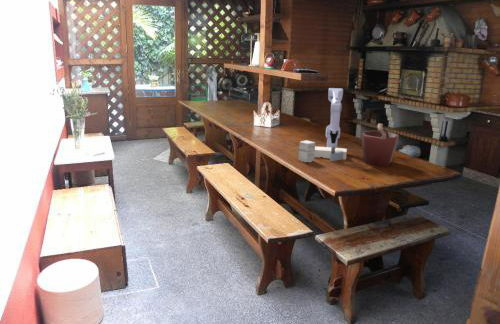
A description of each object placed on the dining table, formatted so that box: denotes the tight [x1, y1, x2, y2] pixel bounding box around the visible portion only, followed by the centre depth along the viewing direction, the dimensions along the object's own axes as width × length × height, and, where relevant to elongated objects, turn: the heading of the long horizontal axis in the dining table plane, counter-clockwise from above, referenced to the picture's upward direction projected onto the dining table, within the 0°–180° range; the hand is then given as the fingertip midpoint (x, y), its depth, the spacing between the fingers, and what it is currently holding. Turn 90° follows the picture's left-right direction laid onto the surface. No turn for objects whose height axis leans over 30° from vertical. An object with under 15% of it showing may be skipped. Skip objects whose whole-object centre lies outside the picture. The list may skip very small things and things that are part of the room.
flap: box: [329, 147, 344, 162], centre depth 264 cm, size 2×10×9 cm, turn 121°
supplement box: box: [298, 139, 316, 163], centre depth 262 cm, size 7×7×13 cm
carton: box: [314, 145, 348, 160], centre depth 275 cm, size 10×24×5 cm, turn 78°
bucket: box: [360, 123, 400, 167], centre depth 261 cm, size 24×22×25 cm
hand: (333, 142), depth 271 cm, fingers open, 7 cm apart
